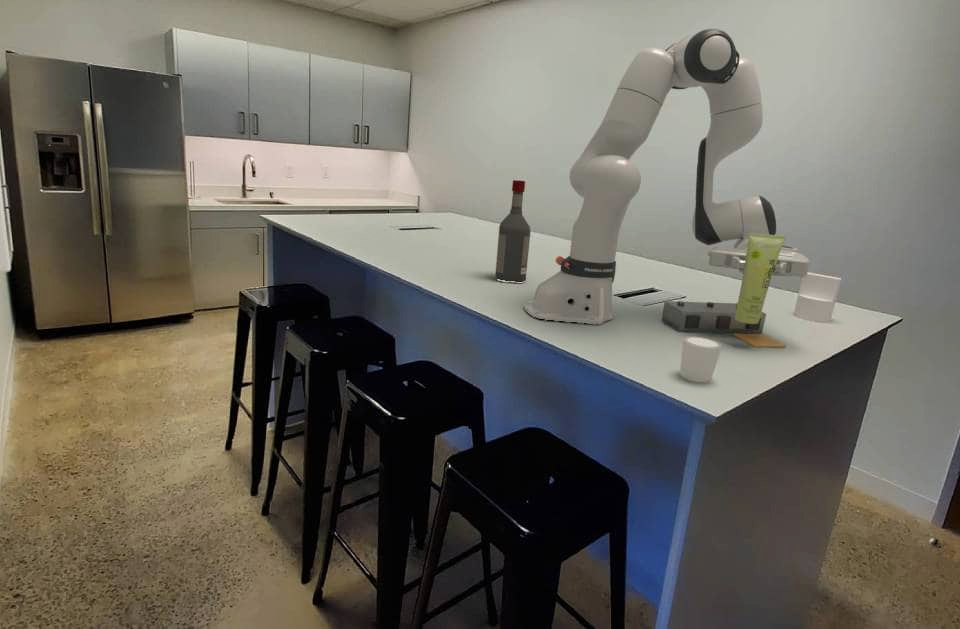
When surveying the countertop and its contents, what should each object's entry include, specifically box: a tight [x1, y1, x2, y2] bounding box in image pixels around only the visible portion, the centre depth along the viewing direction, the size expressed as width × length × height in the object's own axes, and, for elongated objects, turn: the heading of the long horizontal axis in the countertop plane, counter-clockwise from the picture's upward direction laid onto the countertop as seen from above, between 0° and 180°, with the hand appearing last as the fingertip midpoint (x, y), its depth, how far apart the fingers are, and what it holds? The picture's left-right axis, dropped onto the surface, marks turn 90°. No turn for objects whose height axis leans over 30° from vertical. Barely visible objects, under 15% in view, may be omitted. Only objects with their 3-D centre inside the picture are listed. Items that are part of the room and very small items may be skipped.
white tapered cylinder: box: [679, 336, 722, 384], centre depth 105 cm, size 7×7×7 cm
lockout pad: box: [733, 333, 787, 348], centre depth 130 cm, size 8×8×1 cm
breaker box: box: [661, 300, 767, 334], centre depth 138 cm, size 22×10×6 cm, turn 99°
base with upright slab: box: [793, 271, 842, 324], centre depth 154 cm, size 9×9×12 cm
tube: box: [735, 233, 786, 324], centre depth 121 cm, size 6×5×20 cm
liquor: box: [495, 179, 532, 282], centre depth 169 cm, size 9×9×30 cm
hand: (759, 267), depth 120 cm, fingers closed on tube, 6 cm apart
